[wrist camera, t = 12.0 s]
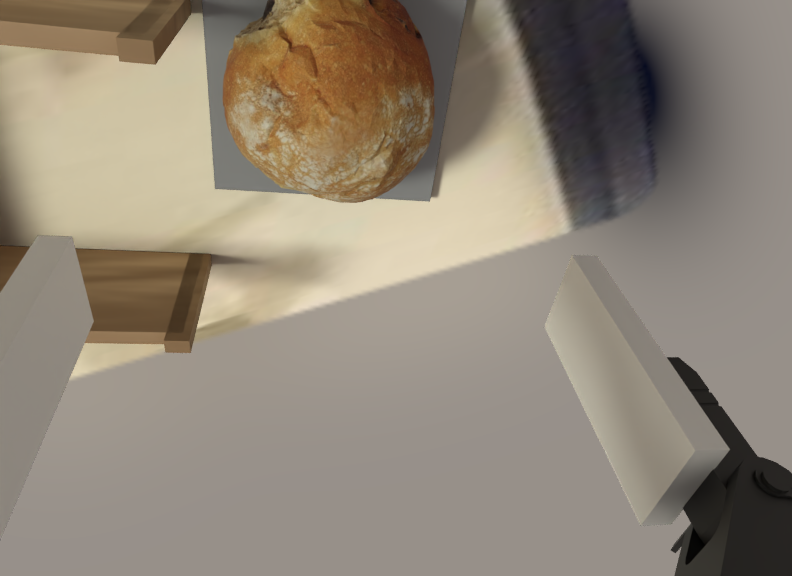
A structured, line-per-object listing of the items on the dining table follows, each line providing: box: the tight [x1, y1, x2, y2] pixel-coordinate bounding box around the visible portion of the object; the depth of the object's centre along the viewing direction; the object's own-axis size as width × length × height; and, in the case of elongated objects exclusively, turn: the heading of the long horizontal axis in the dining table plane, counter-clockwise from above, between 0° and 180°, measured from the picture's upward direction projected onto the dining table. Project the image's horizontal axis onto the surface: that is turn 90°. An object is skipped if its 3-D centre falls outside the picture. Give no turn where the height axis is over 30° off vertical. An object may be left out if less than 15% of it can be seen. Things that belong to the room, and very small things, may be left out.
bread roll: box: [223, 0, 435, 203], centre depth 27 cm, size 10×10×8 cm
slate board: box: [202, 0, 467, 201], centre depth 29 cm, size 12×12×1 cm
